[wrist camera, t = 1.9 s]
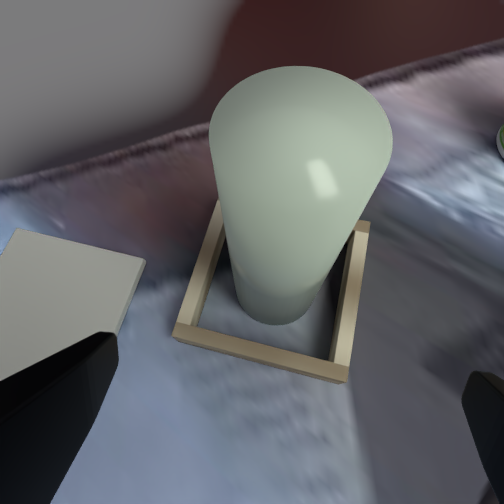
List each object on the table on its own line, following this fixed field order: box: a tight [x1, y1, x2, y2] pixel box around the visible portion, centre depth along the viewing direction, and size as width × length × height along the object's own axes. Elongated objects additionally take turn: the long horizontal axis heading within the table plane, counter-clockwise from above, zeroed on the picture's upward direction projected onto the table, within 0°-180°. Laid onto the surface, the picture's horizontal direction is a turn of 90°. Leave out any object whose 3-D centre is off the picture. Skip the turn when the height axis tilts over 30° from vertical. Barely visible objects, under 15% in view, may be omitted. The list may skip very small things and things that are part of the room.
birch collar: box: [171, 197, 370, 384], centre depth 22 cm, size 10×10×2 cm
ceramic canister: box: [209, 66, 393, 326], centre depth 16 cm, size 5×5×14 cm
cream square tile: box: [0, 228, 146, 381], centre depth 22 cm, size 9×9×1 cm
